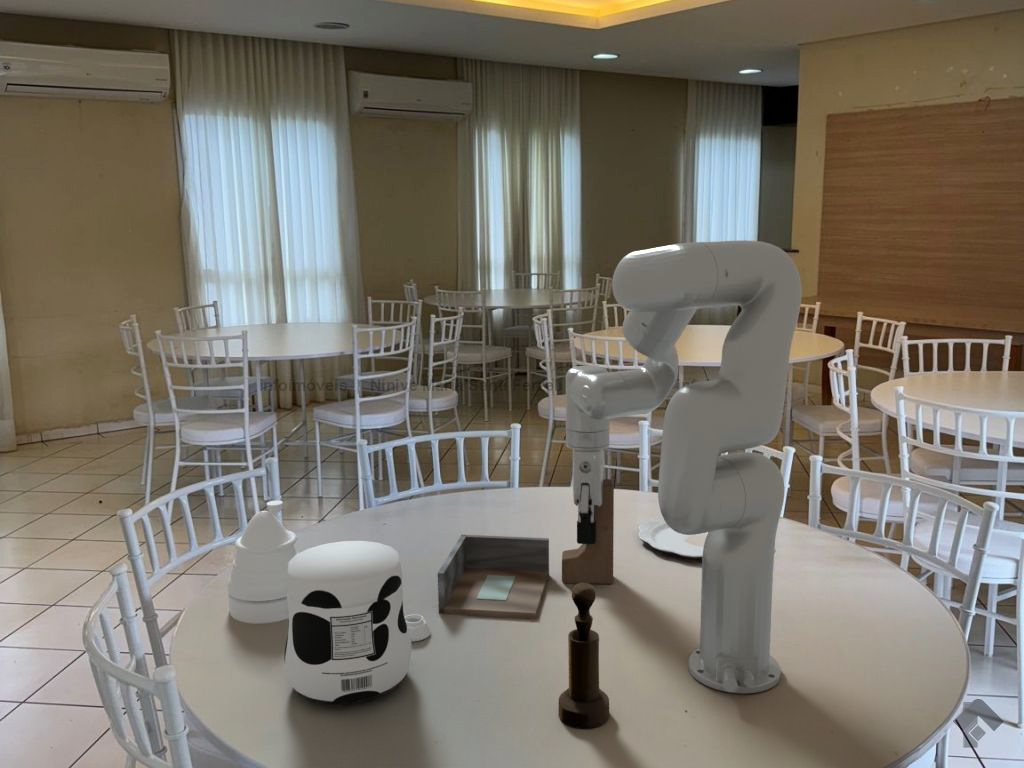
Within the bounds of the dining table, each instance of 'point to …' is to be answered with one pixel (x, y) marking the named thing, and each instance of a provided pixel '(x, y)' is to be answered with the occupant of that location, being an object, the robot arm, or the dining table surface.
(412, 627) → the lidless jar
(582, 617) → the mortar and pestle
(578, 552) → the wooden block
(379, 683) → the milk container
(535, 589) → the tray
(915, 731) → the dining table surface
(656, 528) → the plate
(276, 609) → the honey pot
